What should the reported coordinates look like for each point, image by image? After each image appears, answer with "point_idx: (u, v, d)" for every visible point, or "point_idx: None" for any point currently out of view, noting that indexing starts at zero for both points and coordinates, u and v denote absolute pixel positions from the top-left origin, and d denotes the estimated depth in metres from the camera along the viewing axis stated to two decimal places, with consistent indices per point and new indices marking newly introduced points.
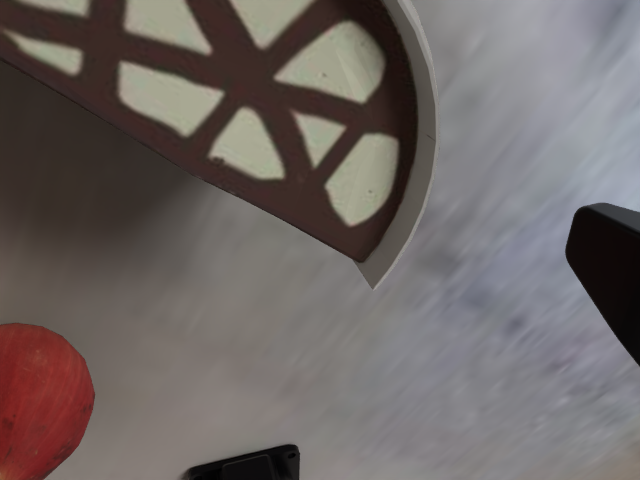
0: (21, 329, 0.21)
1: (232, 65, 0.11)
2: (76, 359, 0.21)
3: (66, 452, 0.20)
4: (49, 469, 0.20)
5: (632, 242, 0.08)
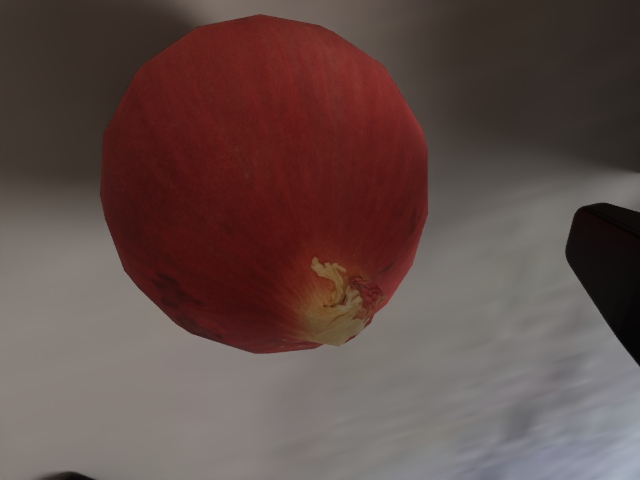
0: None
1: None
2: None
3: None
4: (315, 347, 0.09)
5: (632, 242, 0.08)
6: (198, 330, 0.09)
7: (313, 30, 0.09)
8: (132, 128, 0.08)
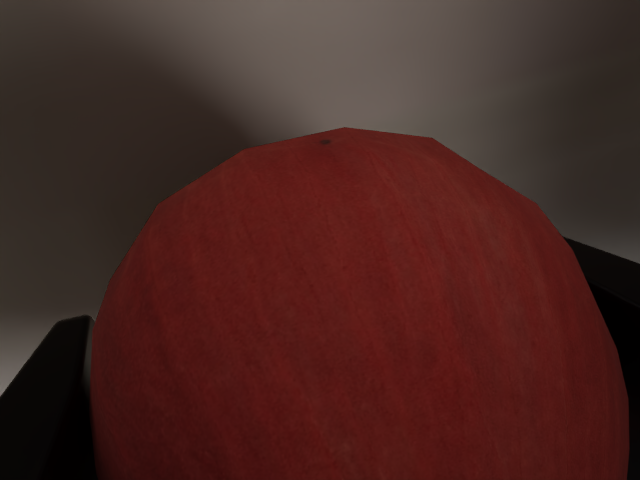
0: None
1: None
2: None
3: None
4: None
5: None
6: None
7: (442, 165, 0.05)
8: (143, 360, 0.05)
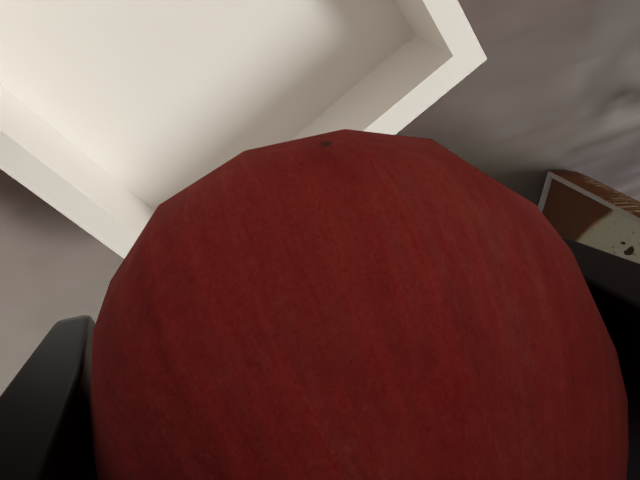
0: None
1: None
2: None
3: None
4: None
5: None
6: None
7: (442, 167, 0.05)
8: (143, 362, 0.05)
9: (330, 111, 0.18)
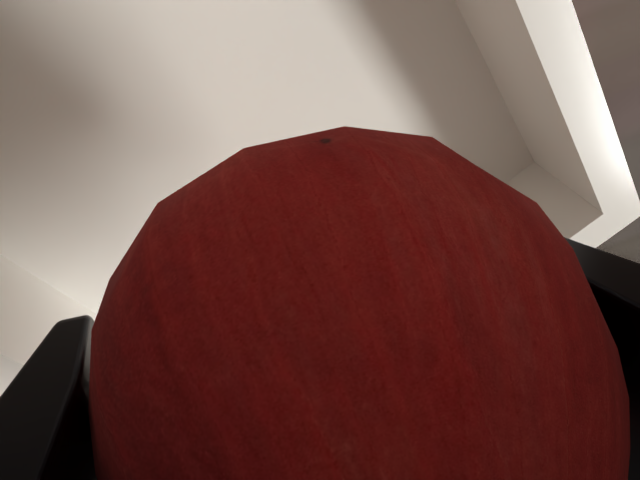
0: None
1: None
2: None
3: None
4: None
5: None
6: None
7: (443, 164, 0.05)
8: (142, 359, 0.05)
9: None
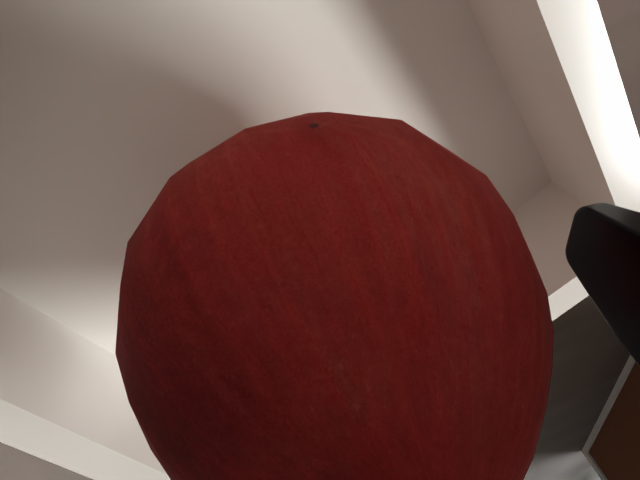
0: None
1: None
2: None
3: None
4: None
5: (632, 242, 0.08)
6: None
7: (410, 146, 0.07)
8: (173, 306, 0.06)
9: None
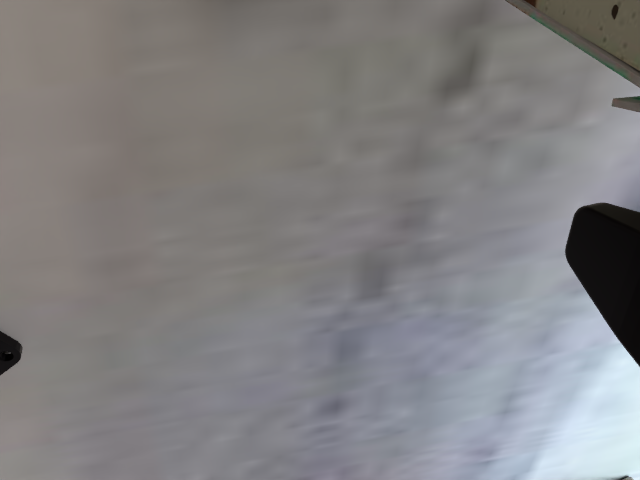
0: None
1: None
2: None
3: None
4: None
5: (632, 242, 0.08)
6: None
7: None
8: None
9: None
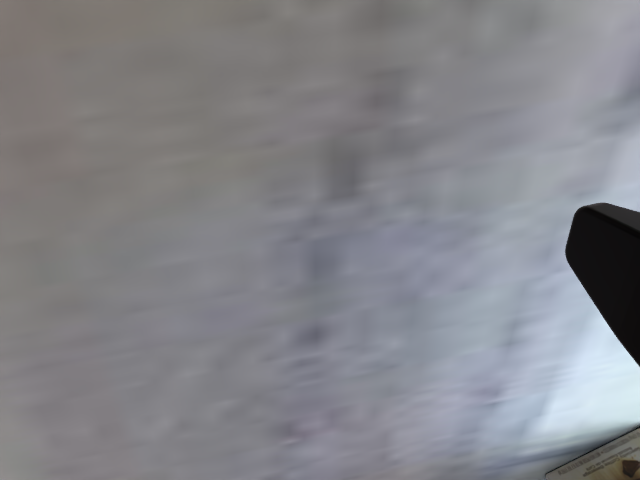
0: None
1: None
2: None
3: None
4: None
5: (632, 242, 0.08)
6: None
7: None
8: None
9: None
